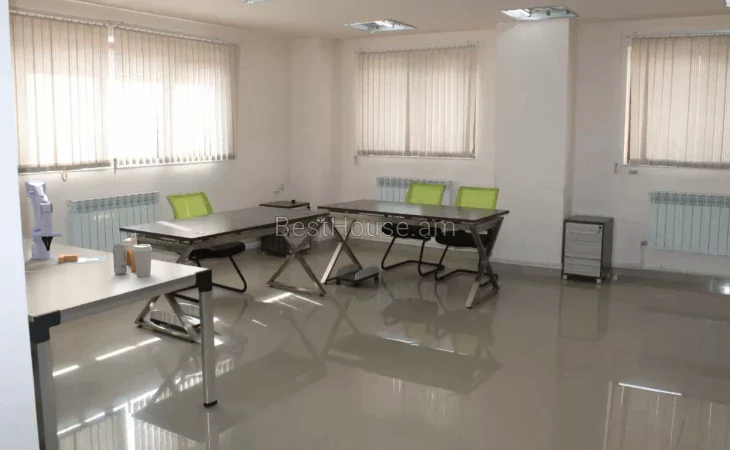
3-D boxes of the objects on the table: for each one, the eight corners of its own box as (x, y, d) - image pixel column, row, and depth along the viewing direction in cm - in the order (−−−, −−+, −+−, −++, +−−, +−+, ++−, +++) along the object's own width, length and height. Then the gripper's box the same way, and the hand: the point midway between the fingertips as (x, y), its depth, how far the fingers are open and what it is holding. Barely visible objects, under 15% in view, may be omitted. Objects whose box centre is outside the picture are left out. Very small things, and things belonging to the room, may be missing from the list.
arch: (131, 272, 333) (130, 253, 332) (126, 265, 351) (125, 246, 349) (143, 271, 336) (142, 252, 334) (137, 264, 353) (136, 245, 352)
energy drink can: (125, 275, 327) (123, 245, 325) (112, 275, 327) (111, 245, 325) (128, 272, 333) (127, 243, 331) (116, 272, 333) (114, 243, 331)
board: (52, 265, 347) (52, 265, 347) (55, 259, 364) (55, 258, 364) (105, 262, 356) (105, 261, 356) (106, 256, 373) (106, 255, 373)
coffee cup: (157, 274, 330) (156, 244, 327) (145, 278, 321) (144, 248, 318) (141, 272, 333) (140, 243, 331) (129, 276, 324) (127, 246, 322)
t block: (58, 263, 352) (58, 257, 351) (59, 259, 361) (59, 254, 361) (76, 262, 355) (76, 256, 354) (77, 258, 364) (77, 253, 364)
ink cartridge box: (129, 258, 368) (128, 232, 366) (138, 258, 368) (136, 232, 366) (123, 261, 359) (122, 234, 357) (132, 261, 359) (131, 235, 357)
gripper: (30, 227, 345) (32, 252, 347) (60, 225, 350) (62, 250, 352) (32, 225, 352) (33, 250, 354) (61, 223, 357) (63, 248, 359)
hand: (48, 250), depth 354 cm, fingers closed
